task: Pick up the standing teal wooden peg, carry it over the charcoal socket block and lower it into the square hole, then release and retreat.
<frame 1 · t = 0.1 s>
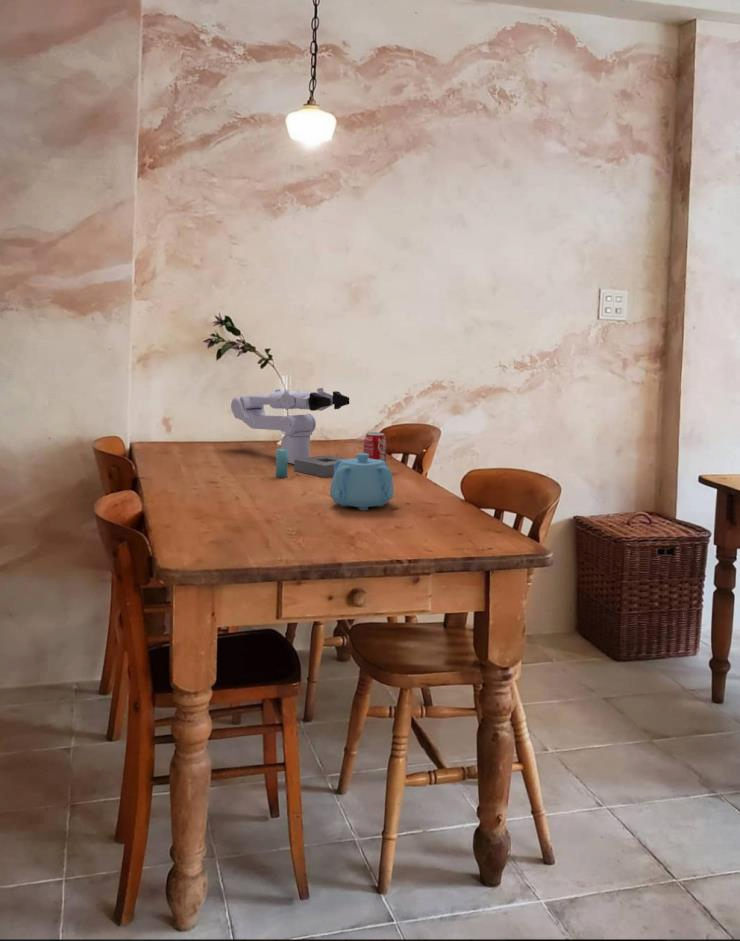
hand: (339, 401, 284), 22 cm above the table, tool horizontal, fingers open, 7 cm apart
soda can: (374, 472, 288), on the table
decorative pot: (361, 506, 239), on the table
socket: (326, 471, 286), on the table
peg: (281, 476, 277), on the table
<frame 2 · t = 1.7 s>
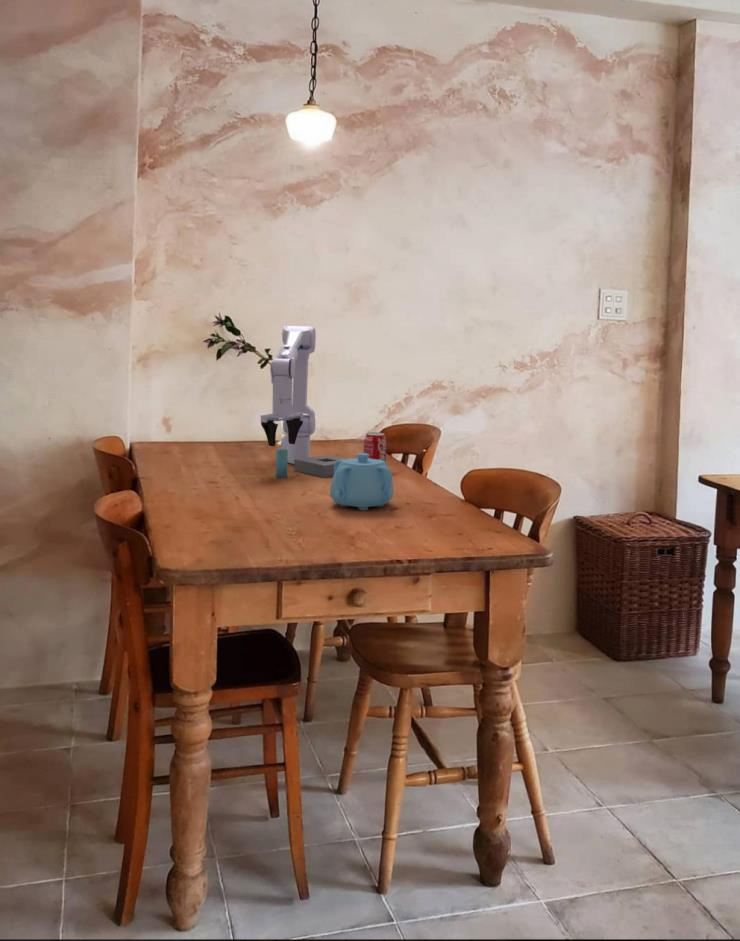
hand: (281, 444, 275), 9 cm above the table, tool pointing down, fingers open, 7 cm apart
nothing on the table moved.
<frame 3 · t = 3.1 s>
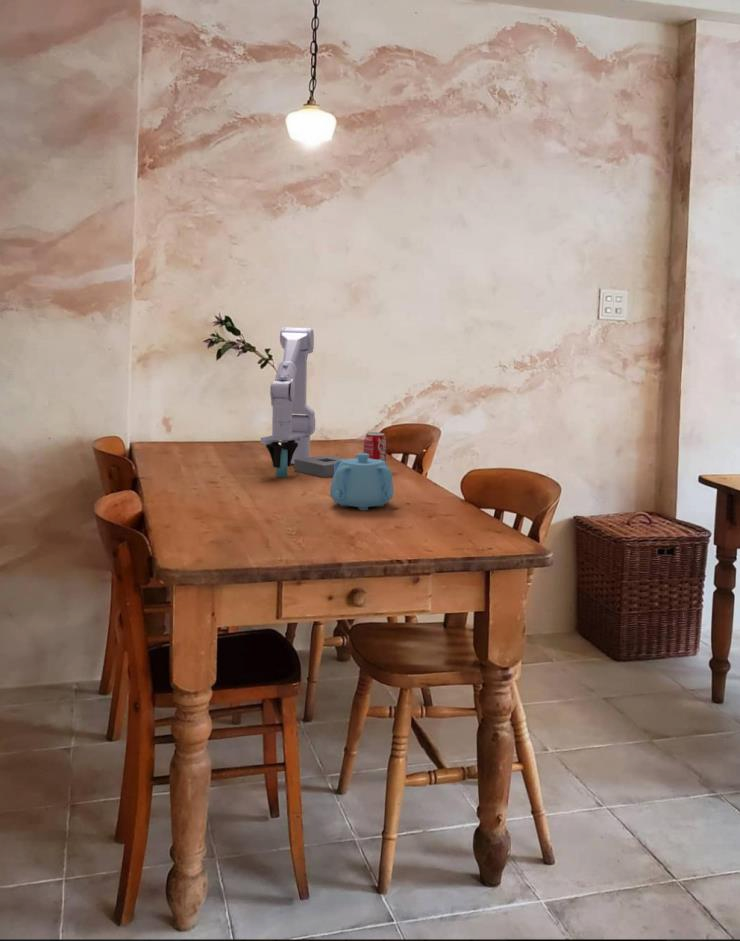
hand: (281, 466, 276), 3 cm above the table, tool pointing down, fingers closed on peg, 3 cm apart
peg: (281, 476, 277), on the table, touching gripper
everything else where it was.
when the fingers open (4 cm above the table, at t = 6.1 s): peg drops 1 cm, resting in socket.
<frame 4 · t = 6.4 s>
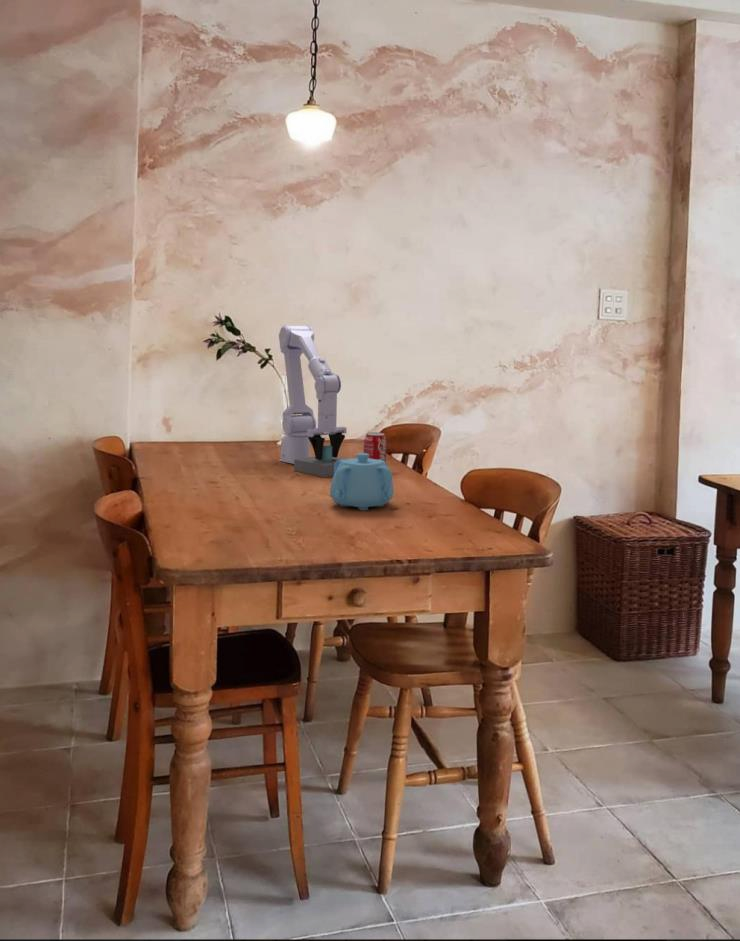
hand: (326, 458, 285), 4 cm above the table, tool pointing down, fingers open, 6 cm apart
peg: (326, 471, 286), resting in socket
everything else where it was.
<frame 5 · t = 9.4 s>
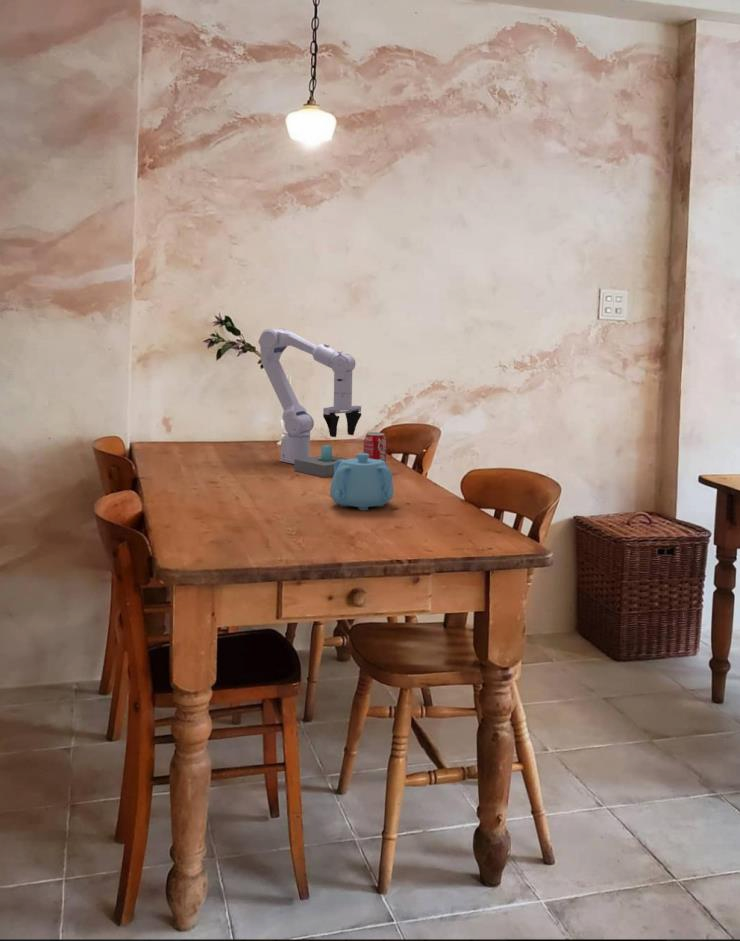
hand: (341, 435, 294), 10 cm above the table, tool pointing down, fingers open, 7 cm apart
nothing on the table moved.
at the end: peg 0.1 cm off-centre on the socket, point 0.0 cm above the socket's base; peg tilted 0°; the gripper is holding nothing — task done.
